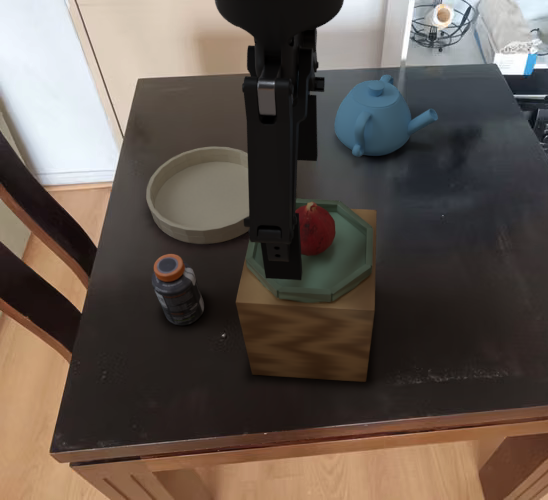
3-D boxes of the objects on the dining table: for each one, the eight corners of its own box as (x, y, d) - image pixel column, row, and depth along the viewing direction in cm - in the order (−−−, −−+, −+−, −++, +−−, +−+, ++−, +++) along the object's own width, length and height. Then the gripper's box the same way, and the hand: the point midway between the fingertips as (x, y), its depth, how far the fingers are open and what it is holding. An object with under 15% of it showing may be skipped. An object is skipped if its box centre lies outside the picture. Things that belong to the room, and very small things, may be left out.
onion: (325, 274, 64) (325, 229, 58) (280, 261, 65) (276, 216, 59) (341, 239, 67) (342, 193, 61) (298, 228, 68) (295, 182, 62)
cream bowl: (136, 240, 91) (130, 226, 88) (169, 157, 105) (164, 143, 102) (261, 247, 90) (259, 233, 88) (277, 163, 104) (276, 149, 101)
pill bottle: (210, 297, 84) (196, 251, 75) (196, 329, 80) (180, 284, 71) (173, 291, 84) (156, 244, 76) (159, 323, 81) (138, 277, 72)
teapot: (353, 103, 117) (355, 49, 107) (442, 125, 112) (453, 70, 103) (318, 159, 105) (317, 104, 95) (417, 185, 101) (427, 130, 91)
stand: (252, 374, 75) (233, 292, 60) (268, 283, 86) (255, 193, 70) (365, 382, 75) (376, 301, 60) (368, 289, 85) (377, 199, 70)
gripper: (329, 63, 21) (328, 344, 37) (355, -135, 37) (346, 121, 53) (136, 55, 21) (219, 337, 37) (245, -139, 37) (270, 118, 53)
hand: (294, 211), depth 45 cm, fingers open, 13 cm apart
